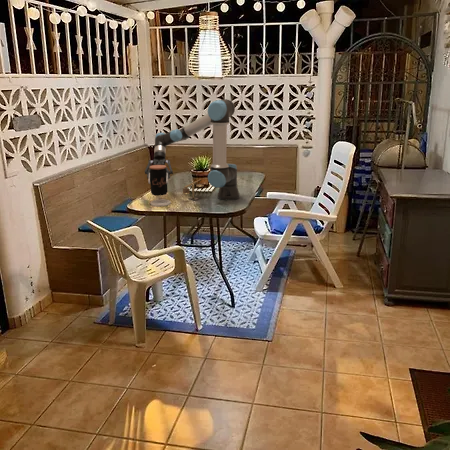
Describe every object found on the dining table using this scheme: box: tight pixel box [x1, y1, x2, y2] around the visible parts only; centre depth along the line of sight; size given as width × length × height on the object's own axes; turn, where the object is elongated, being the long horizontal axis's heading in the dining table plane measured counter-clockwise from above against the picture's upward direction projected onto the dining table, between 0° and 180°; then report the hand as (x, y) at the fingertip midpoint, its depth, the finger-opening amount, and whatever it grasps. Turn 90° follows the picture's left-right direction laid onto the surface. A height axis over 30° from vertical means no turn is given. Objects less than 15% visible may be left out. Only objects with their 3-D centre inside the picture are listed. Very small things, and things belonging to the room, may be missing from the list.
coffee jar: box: [149, 164, 168, 197], centre depth 306 cm, size 11×11×18 cm
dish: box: [149, 198, 172, 208], centre depth 310 cm, size 13×13×2 cm
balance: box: [182, 178, 204, 202], centre depth 318 cm, size 6×17×13 cm, turn 133°
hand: (158, 182), depth 303 cm, fingers closed on coffee jar, 11 cm apart
